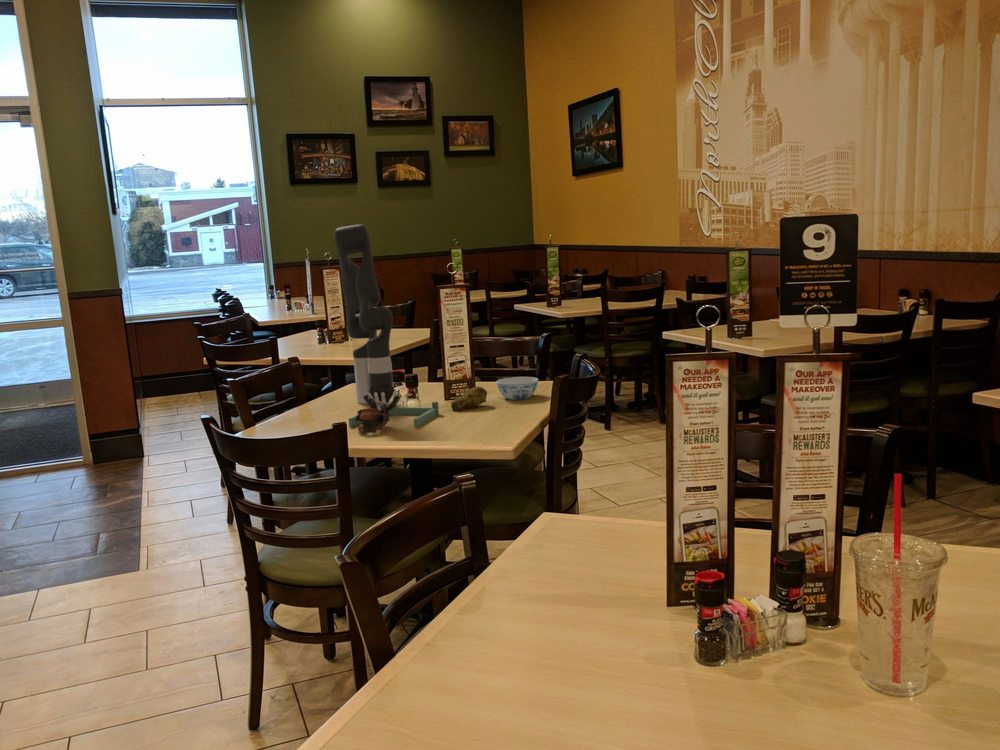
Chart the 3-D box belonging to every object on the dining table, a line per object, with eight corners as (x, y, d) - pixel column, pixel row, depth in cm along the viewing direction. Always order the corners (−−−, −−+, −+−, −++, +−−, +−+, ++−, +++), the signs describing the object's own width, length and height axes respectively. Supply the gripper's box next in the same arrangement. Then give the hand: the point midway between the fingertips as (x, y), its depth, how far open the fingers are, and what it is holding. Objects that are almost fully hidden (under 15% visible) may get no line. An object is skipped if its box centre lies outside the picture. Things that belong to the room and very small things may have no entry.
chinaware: (543, 397, 306) (542, 376, 304) (534, 405, 291) (533, 383, 290) (503, 397, 309) (502, 377, 308) (493, 405, 295) (491, 384, 294)
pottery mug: (349, 435, 261) (348, 410, 264) (366, 442, 269) (365, 417, 272) (381, 428, 256) (381, 402, 259) (398, 435, 264) (397, 410, 267)
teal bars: (372, 415, 290) (371, 401, 289) (439, 416, 282) (438, 401, 281) (348, 427, 272) (347, 412, 272) (418, 428, 265) (417, 412, 264)
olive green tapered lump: (450, 409, 292) (448, 387, 291) (486, 406, 294) (485, 384, 293) (452, 414, 284) (450, 391, 283) (489, 411, 286) (488, 388, 284)
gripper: (403, 368, 268) (408, 420, 271) (366, 368, 272) (371, 420, 275) (394, 372, 261) (398, 426, 264) (356, 372, 265) (360, 425, 268)
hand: (384, 423), depth 269 cm, fingers closed
